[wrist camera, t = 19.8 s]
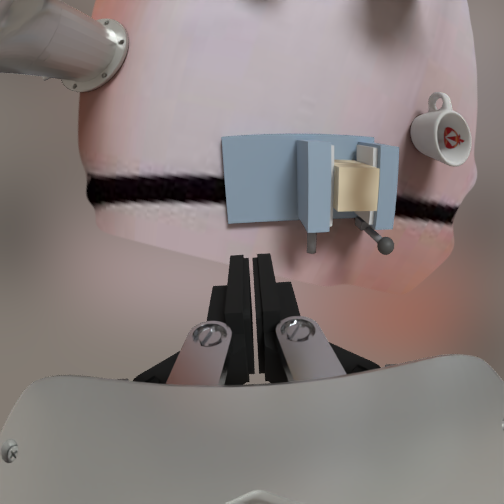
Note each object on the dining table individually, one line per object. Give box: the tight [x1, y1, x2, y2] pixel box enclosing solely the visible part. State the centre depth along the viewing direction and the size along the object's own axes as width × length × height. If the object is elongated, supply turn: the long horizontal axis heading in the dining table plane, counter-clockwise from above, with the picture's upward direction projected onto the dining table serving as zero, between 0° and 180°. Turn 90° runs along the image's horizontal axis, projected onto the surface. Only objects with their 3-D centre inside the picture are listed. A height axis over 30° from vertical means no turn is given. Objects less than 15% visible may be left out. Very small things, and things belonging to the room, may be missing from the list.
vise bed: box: [222, 134, 399, 255], centre depth 32 cm, size 21×14×10 cm
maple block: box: [333, 160, 380, 212], centre depth 31 cm, size 5×5×8 cm
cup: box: [411, 92, 471, 166], centre depth 29 cm, size 11×8×8 cm
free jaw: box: [296, 140, 334, 254], centre depth 33 cm, size 3×14×7 cm, turn 3°
